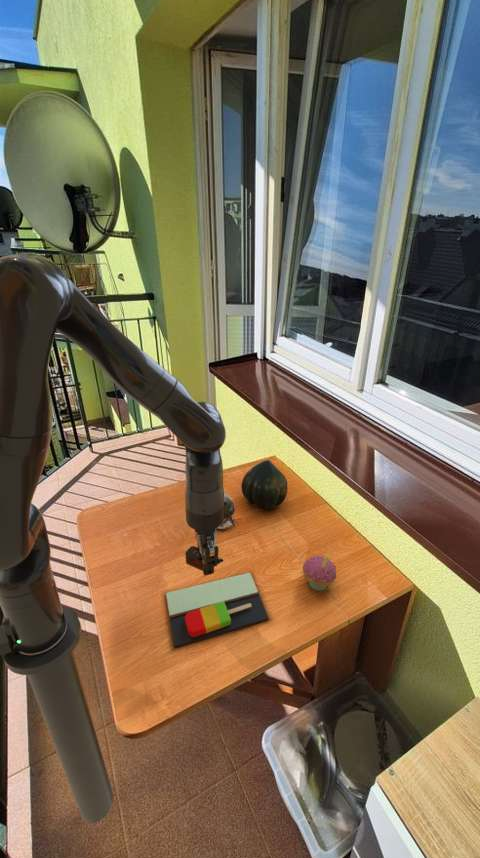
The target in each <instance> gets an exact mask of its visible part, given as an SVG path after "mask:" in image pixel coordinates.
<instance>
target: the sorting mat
mask: <svg viewBox="0 0 480 858" xmlns="http://www.w3.org/2000/svg"><path fill="white" fill-rule="evenodd" d="M165 597H166V603H167V609H168V615H169V616H168V617H169V622H170V628H171V635H172V643H173V648H174V649H176V648H179V647H183V646H185V645H189V644H193V643H196V642H199V641H203V640H207V639H210V638H213V637H216V636H220V635H222V634H226V633H229V632H232V631H236V630H239V629H242V628H246V627H250V626H252V625H257V624H259V623H262V622H266V621H269V620H270V618H269V615H268V613H267V610H266V608H265V605H264V603H263V601H262V597H261V596H260V591H258V588H257V586H256V583H255V581H254V578H253V575H252V573H251V572H246V573H242V574H237V575H234V576H230V577H229V576H228V577H226V578H222V579H218V580H214V581H209V582H205V583H201V584H197V585H193V586H188V587H183V588H181V589H176V590H173V591H169V592H165ZM223 601H224V603H225V605H226V608H227V610H230V609H233V608H236V607H239V606H242V605H245V604H248V603H251V605H252V606H251V607H250V608H247V609H244V610H241V611H238V612H235V613H232V614H229V616H230V618H231V624H230V625H229V626H226V627H223V628H220V629H217V630H214V631H211V632H208V633H206V634H203V635H200V636H197V637H190V635H189V634H188V631H187V627H186V623H185V616H186V614H187V613H189V612H191V611H194V610H198V609H201V608H204V607H207V606H210V605H213V604H216V603H220V602H223Z"/></svg>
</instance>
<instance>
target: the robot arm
mask: <svg viewBox="0 0 480 858" xmlns="http://www.w3.org/2000/svg"><path fill="white" fill-rule="evenodd" d="M56 333H58V334H61V335H62V336H64V337H65V338H67V339H68V340H70V341H71V342H72V343H73V344H75V345H76V346H77V347H78V348H80V349H81V350H82V351H83V352H84V353H85V354H87V355H88V356H89V358H91V359H92V361H93V362H94V363H95V364H96V365H97V366H98V367H99V369H101V370H102V372H104V373H105V375H106V376H107V377H108V378H109V380H111V381H112V383H114V384H115V385H116V386H117V387H118V388H119V389H120V390H121V391H122V392H123V393H124V394H125V395H126V396H128V397H129V398H130V399H132V400H133V401H134V402H135V403H137V404H138V405H140V406H141V407H142V408H144V410H146V411H148V412H149V413H150V414H152V415H154V416H155V417H156V418H157V419H158V420H160V421H161V422H162V423H163V424H164V426H165V427H166V428H167V429H168V430H169V431H170V432H171V433H172V434H173V435H174V436H175V438H177V439H178V440H179V442H181V443H182V444H183V445H184V450H185V468H184V470H185V473H184V474H185V489H184V500H185V501H184V502H185V503H184V504H185V521H186V524H187V526H189V528H191V529H193V530H194V535H195V536H194V537H195V541H197V548H199V551H200V553H201V554H202V559H203V560H202V563H203V571H202V574H203V576H210V575H213V574H214V573H215V567H218V565H219V564H218V563H217V562H218V557H219V550H220V549H219V546H218V545H217V537H218V534H217V533H218V532H217V529H218V528H217V527H219V526H220V525H221V523H222V522H223V519H224V493H225V489H224V488H225V487H224V465H223V458H222V455H221V448H222V447H223V446H224V443H225V441H226V437H227V433H226V428H225V425H224V422H223V418H222V415H221V414H220V412H219V410H218V409H217V407H216V406H214V405H213V404H211V403H209V402H207V401H196V400H195V399H193V397H192V396H191V394H190V393H189V392H188V389H187V388H186V386H185V385H183V383H182V382H181V381H180V380H178V379H177V378H176V377H175V376H173V375H172V374H171V372H169V371H168V370H166V368H165V367H163V366H162V365H161V364H160V363H158V362H157V361H156V360H154V358H152V357H151V356H150V355H148V354H147V353H146V352H145V351H144V350H143V349H141V348H140V347H139V346H138V345H136V343H134V342H133V341H132V340H131V339H129V337H127V336H126V335H125V334H124V333H123V332H122V331H121V330H120V329H118V327H116V326H115V325H114V324H113V323H112V322H111V321H110V320H109V319H108V317H106V316H105V315H104V314H103V313H102V312H101V311H100V310H99V309H98V308H97V307H96V306H95V305H94V304H93V303H92V302H91V300H90V299H89V298H88V297H87V296H86V295H85V294H84V293H83V292H82V291H81V290H80V288H79V287H78V286H77V285H76V284H75V283H74V282H73V280H72V279H71V278H70V277H69V276H68V275H67V274H66V272H64V271H63V270H62V269H61V267H60V266H59V265H58V264H57V263H56V262H54V261H53V260H51V259H49V258H48V257H46V256H43V255H40V254H37V253H33V252H18V253H13V254H9V255H5V256H1V257H0V608H1V611H2V613H3V618H2V622H1V624H0V656H2V655H3V654H7V653H11V652H12V651H13V654H14V655H17V654H21V655H23V656H27V657H34V656H39V655H42V654H45V653H47V652H49V651H50V650H52V649H54V648H55V647H56V646H57V645H58V644H59V643H60V642H61V641H62V640H63V638H64V637H65V635H66V633H67V628H68V626H67V622H66V619H65V616H64V613H63V609H62V606H63V605H62V602H61V598H60V594H59V591H58V588H57V583H56V580H55V576H54V572H53V568H52V566H51V556H52V555H51V544H50V539H49V534H48V530H47V525H46V522H45V519H44V516H43V514H42V512H41V510H40V509H39V508H38V507H37V506H36V505H35V504H33V503H32V502H33V498H34V495H35V493H36V490H37V487H38V485H39V483H40V479H41V476H42V474H43V470H44V467H45V465H46V461H47V457H48V454H49V450H50V443H51V437H52V430H53V423H54V422H53V421H54V409H53V401H52V395H51V390H50V384H49V366H50V365H49V364H50V359H51V354H52V348H53V344H54V339H55V335H56ZM214 566H215V567H214Z"/></svg>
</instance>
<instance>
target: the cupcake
mask: <svg viewBox="0 0 480 858" xmlns="http://www.w3.org/2000/svg"><path fill="white" fill-rule="evenodd" d="M329 557H330V556H329V553H327V554H326V555H325V556H323V555H313V556H309V558H307V559H306V560H305V561H304V563H303V565H302V573H303V577H304V579H305V580H306V581H308V585H309V587H310V588H311V589H313V590H314V591H323V590H326V588H327V587H328V586H329V585H331V584H333V583H334V581H335V580H336V579H337V567H336V565H335V563H334V562H332V560H330V559H329Z"/></svg>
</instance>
